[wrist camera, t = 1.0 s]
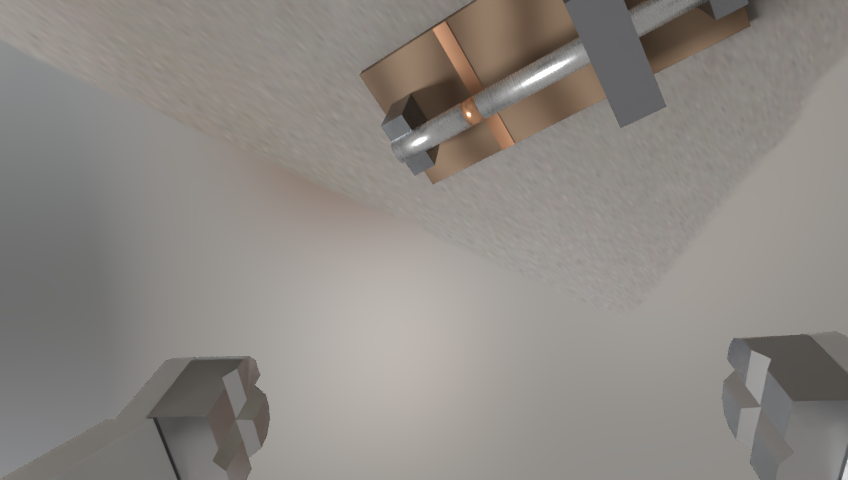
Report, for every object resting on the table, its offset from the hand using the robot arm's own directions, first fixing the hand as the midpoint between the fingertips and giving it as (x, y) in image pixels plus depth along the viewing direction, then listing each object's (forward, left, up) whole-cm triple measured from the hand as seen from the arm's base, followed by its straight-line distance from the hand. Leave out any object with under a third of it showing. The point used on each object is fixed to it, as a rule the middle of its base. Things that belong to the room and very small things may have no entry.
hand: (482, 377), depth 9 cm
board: (-1, +6, -39) cm, 39 cm away
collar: (-5, +6, -37) cm, 38 cm away
